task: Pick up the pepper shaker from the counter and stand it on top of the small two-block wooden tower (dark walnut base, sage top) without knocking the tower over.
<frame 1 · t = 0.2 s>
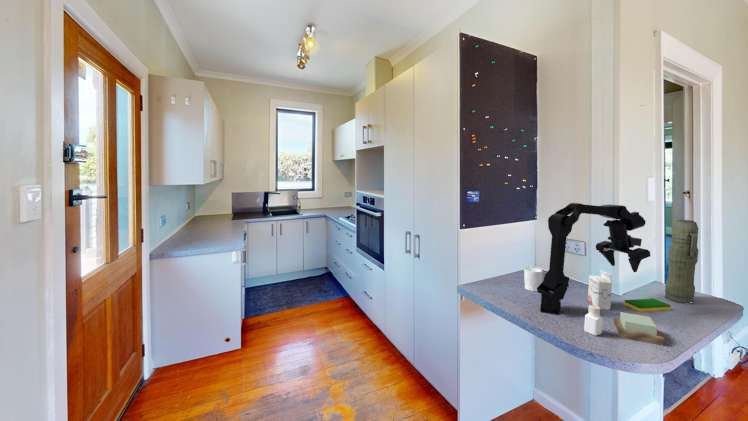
hand: (623, 268, 124), 15 cm above the countertop, tool pointing down, fingers open, 9 cm apart
tower base block: (636, 335, 101), on the countertop, touching tower top block
tower top block: (637, 327, 101), point 2 cm above the countertop, touching tower base block
thermos: (678, 299, 128), on the countertop
pepper shaker: (592, 333, 103), on the countertop
white cup: (532, 289, 144), on the countertop
ink cartridge box: (598, 305, 124), on the countertop
dish sponge: (646, 308, 122), on the countertop
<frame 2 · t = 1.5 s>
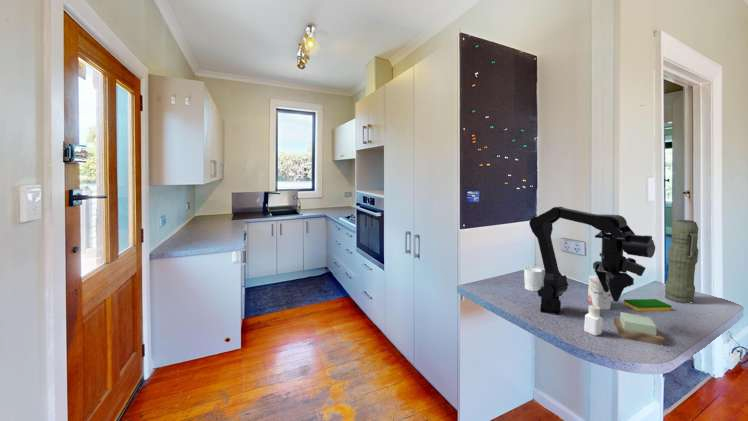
hand: (610, 296, 101), 13 cm above the countertop, tool pointing down, fingers open, 9 cm apart
tower base block: (636, 335, 101), on the countertop
tower top block: (637, 327, 101), point 2 cm above the countertop
everything else where it was.
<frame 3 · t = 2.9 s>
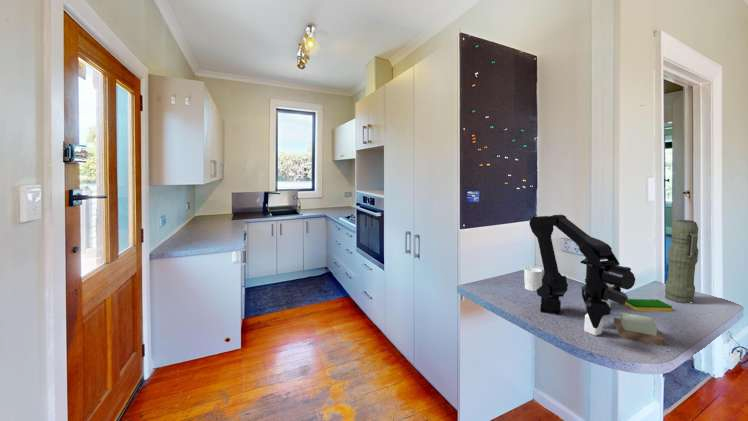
hand: (593, 322, 102), 4 cm above the countertop, tool pointing down, fingers open, 9 cm apart
nothing on the countertop moved.
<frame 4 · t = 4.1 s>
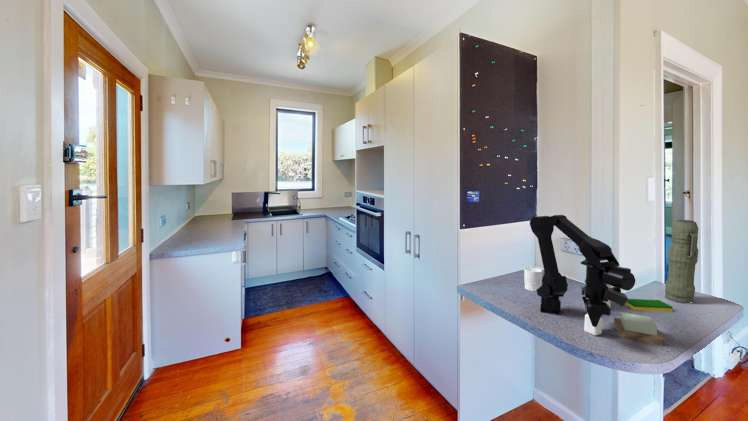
hand: (593, 323, 102), 4 cm above the countertop, tool pointing down, fingers closed on pepper shaker, 5 cm apart
tower base block: (636, 335, 101), on the countertop, touching tower top block
tower top block: (637, 327, 101), point 2 cm above the countertop, touching tower base block
pepper shaker: (592, 333, 103), on the countertop, touching gripper
everything else where it was.
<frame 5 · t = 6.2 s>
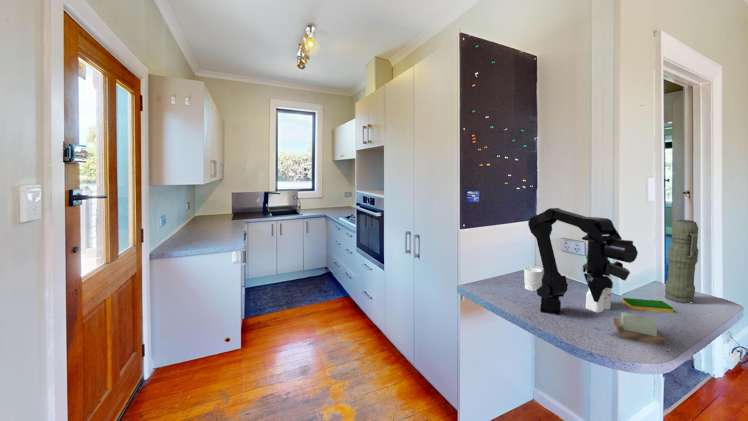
hand: (594, 298, 101), 12 cm above the countertop, tool pointing down, fingers closed on pepper shaker, 5 cm apart
pepper shaker: (594, 310, 102), point 8 cm above the countertop, touching gripper
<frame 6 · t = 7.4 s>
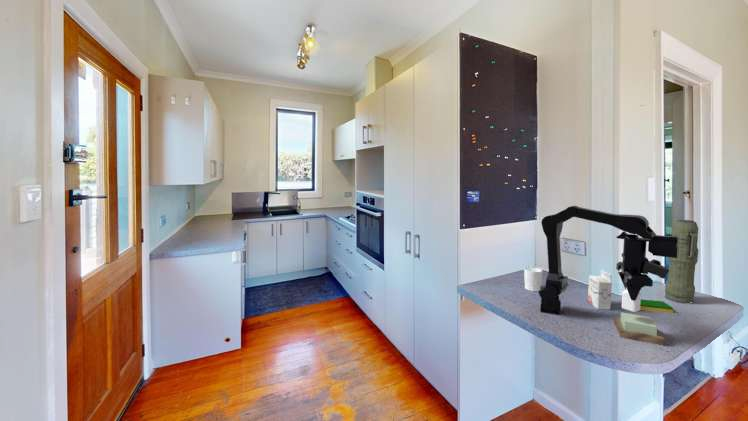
hand: (631, 297, 100), 13 cm above the countertop, tool pointing down, fingers closed on pepper shaker, 5 cm apart
pepper shaker: (630, 310, 101), point 9 cm above the countertop, touching gripper
when the fingers open (11 cm above the countertop, at t = 8.7 s): pepper shaker drops 1 cm, resting on tower top block.
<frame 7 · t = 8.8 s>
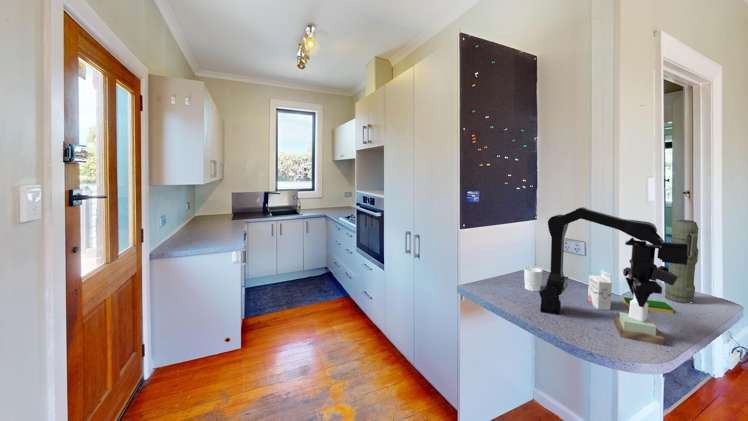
hand: (639, 303, 100), 11 cm above the countertop, tool pointing down, fingers open, 5 cm apart
tower top block: (636, 327, 101), point 2 cm above the countertop, touching pepper shaker, tower base block
pepper shaker: (637, 319, 101), point 5 cm above the countertop, touching tower top block
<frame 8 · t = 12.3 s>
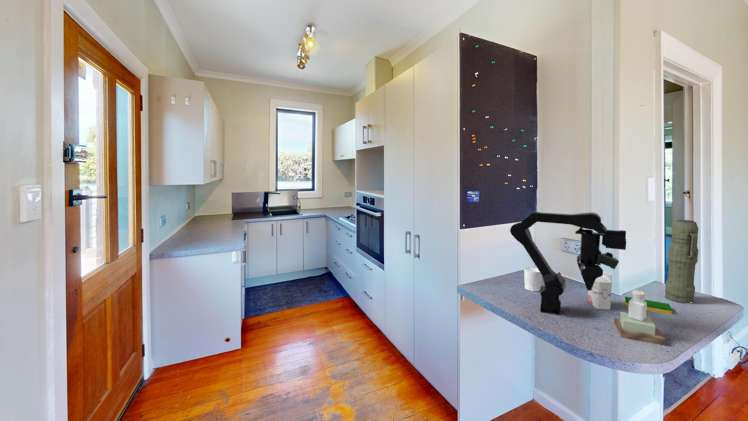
hand: (587, 286, 111), 13 cm above the countertop, tool pointing down, fingers open, 9 cm apart
at the end: pepper shaker 0.4 cm off-centre on the tower top block, point 2.9 cm above the tower top block's base; pepper shaker tilted 1°; tower top block 0.4 cm from the target spot, point 2.2 cm above the countertop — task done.
